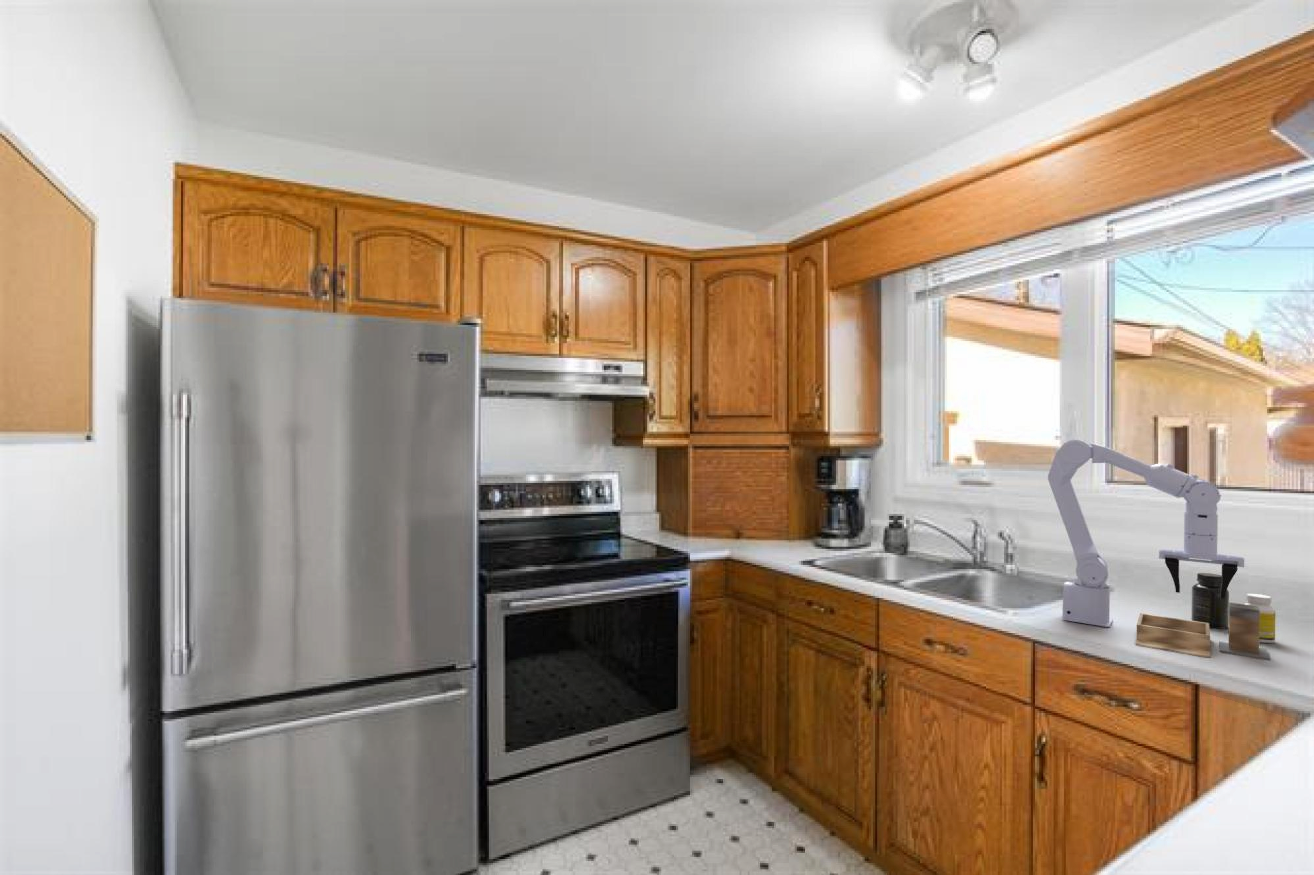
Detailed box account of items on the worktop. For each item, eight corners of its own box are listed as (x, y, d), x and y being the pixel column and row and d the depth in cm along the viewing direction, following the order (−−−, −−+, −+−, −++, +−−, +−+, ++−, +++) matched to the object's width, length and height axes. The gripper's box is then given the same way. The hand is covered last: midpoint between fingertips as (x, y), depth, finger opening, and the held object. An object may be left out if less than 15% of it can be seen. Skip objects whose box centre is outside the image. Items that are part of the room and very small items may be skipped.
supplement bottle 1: (1236, 629, 150) (1237, 578, 150) (1203, 628, 151) (1204, 577, 151) (1215, 621, 157) (1216, 572, 157) (1184, 619, 158) (1185, 571, 158)
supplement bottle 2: (1281, 644, 139) (1282, 599, 139) (1252, 642, 140) (1253, 597, 140) (1263, 636, 145) (1264, 593, 145) (1235, 635, 146) (1236, 591, 146)
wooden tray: (1135, 644, 138) (1135, 628, 138) (1141, 624, 153) (1141, 609, 153) (1210, 657, 130) (1210, 640, 130) (1208, 634, 146) (1208, 619, 146)
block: (1229, 649, 134) (1230, 606, 134) (1228, 644, 138) (1229, 602, 138) (1259, 654, 131) (1259, 610, 131) (1257, 649, 135) (1257, 606, 135)
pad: (1220, 651, 134) (1220, 649, 134) (1219, 643, 140) (1219, 641, 140) (1269, 660, 129) (1269, 658, 129) (1266, 650, 135) (1266, 648, 135)
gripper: (1158, 532, 146) (1158, 592, 146) (1245, 539, 136) (1244, 603, 137) (1160, 529, 151) (1159, 587, 151) (1243, 535, 142) (1242, 597, 142)
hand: (1199, 594), depth 144 cm, fingers open, 7 cm apart
